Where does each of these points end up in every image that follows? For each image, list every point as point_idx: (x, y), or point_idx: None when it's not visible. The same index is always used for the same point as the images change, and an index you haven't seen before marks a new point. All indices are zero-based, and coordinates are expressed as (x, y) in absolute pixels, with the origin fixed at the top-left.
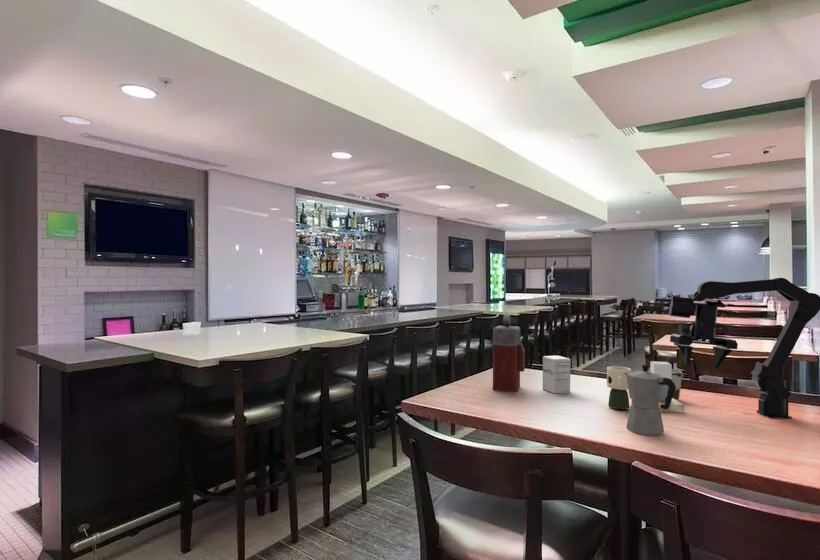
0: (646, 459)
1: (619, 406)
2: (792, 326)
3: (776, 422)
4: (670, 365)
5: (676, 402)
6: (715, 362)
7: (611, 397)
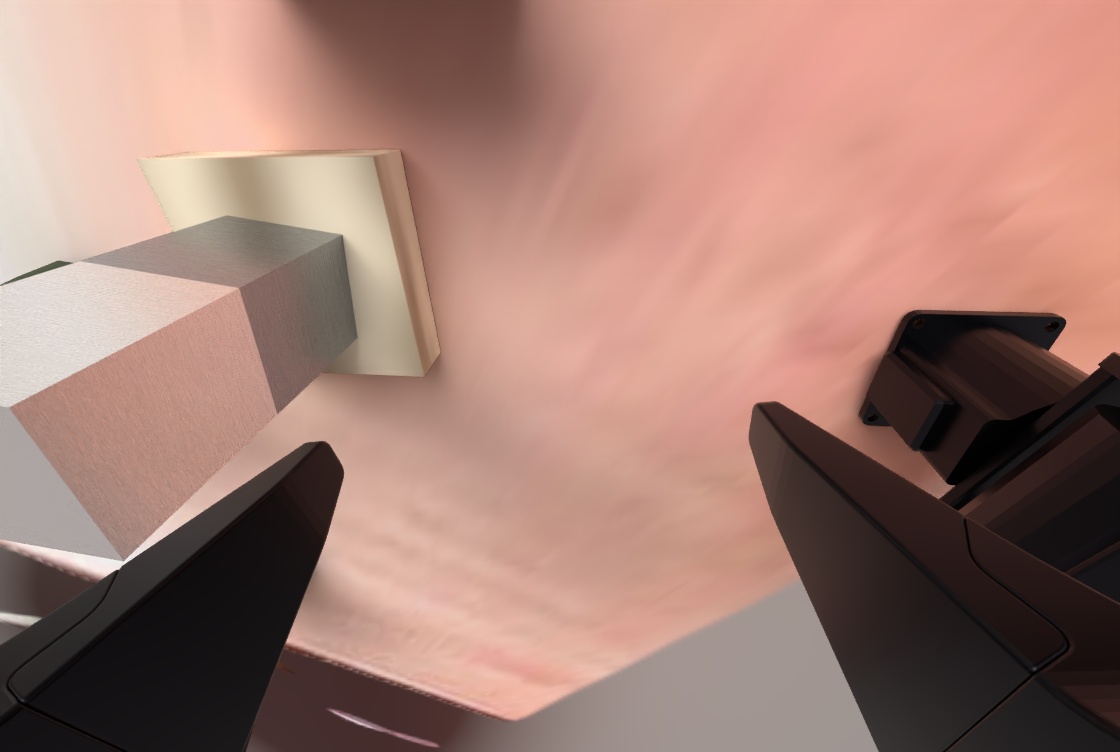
0: None
1: None
2: None
3: None
4: (122, 549)
5: (388, 336)
6: (800, 516)
7: None
